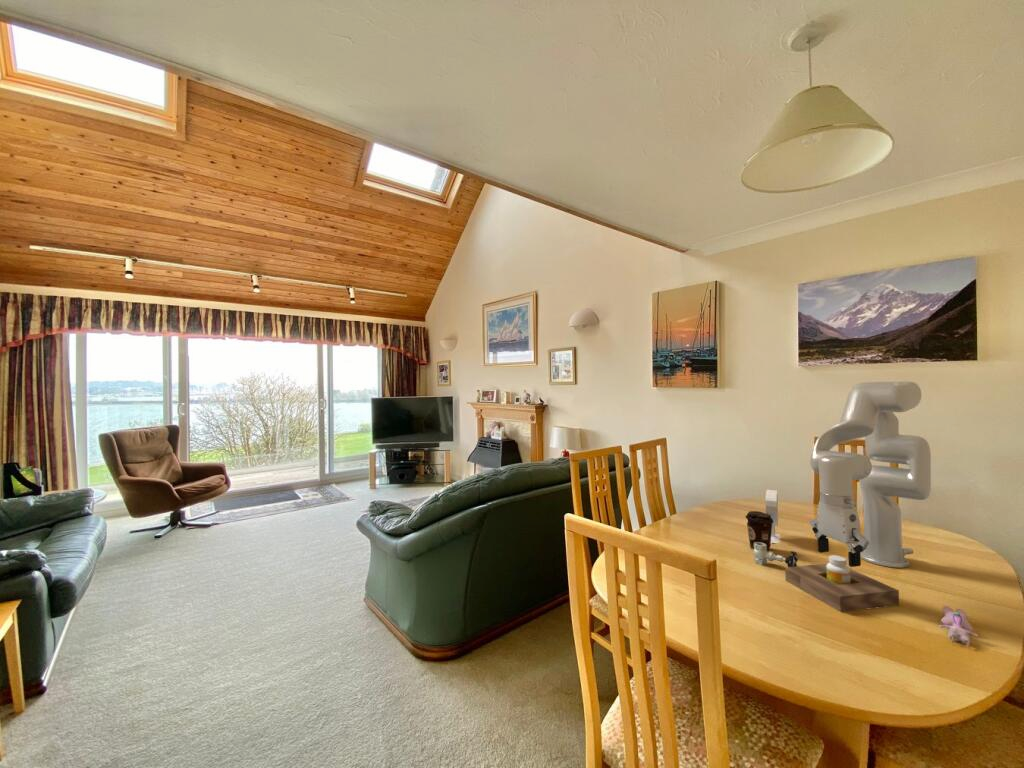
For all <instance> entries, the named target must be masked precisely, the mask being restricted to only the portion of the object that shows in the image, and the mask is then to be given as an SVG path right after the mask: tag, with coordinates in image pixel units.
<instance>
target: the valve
mask: <svg viewBox="0 0 1024 768" xmlns="http://www.w3.org/2000/svg"><path fill="white" fill-rule="evenodd" d="M752 550H753V549H752ZM766 550H767V546H766V544H765V543H762V542H755V543H754V550H753V552H752V556H754V561H753V562H754V564H755V565H759V566H767V565H768V561H769V562H774V561H777V562H779V563H780V562H781V563H782V562H784V563H785V564H786V565H787V567H795V566H798V564H797V563H798V560H799V557H797V556H798V552H796V551H793V550H791V551H790V554H792V555H788V556H786V557H783V555H779V554H777V555H776V554H775V553H774V551H771V550H770V551H769V552H767V551H766Z"/></svg>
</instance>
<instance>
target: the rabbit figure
mask: <svg viewBox="0 0 1024 768" xmlns="http://www.w3.org/2000/svg"><path fill="white" fill-rule="evenodd" d="M942 612H943V615H944V616H943V617H942V618H941V620H940V621H941V623H942V624H939V625H938V627H939V628H941V629H943V628H945V629H949V630H948V632H947V633H948V634H947V636H948V638H949V639H950V643H951V644H952V645H953V644H954V643H955V645H957V642H960V643H962V644H964V645H965V647H966V648H967V647H968V648H972V646H971V643H972V640H971V636H970V635H972V636H974V637H975V638H978V637H979V635H978V634H977V633H975V632H972V631H973V626H972V625H971V624H970V623H969V621H968V614H967V612H966V611H965V610H964V609H960V608H956V609H955V611H954V610H953V608H952V607H950V606H948V605H947V606H946V605H944V606H943V607H942Z"/></svg>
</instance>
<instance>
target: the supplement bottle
mask: <svg viewBox="0 0 1024 768" xmlns="http://www.w3.org/2000/svg"><path fill="white" fill-rule="evenodd" d="M847 563H848V561H847V559H846V557H843V556H840V555H834V554H833V555H829V557H828V562H827V563H826V564H827V566H826V569H827V579H828V580H830V581H832V582H834V583H836V584H838V585H843V584H851V580H850V569H851V568H850V569H849V566H847V565H848V564H847Z"/></svg>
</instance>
